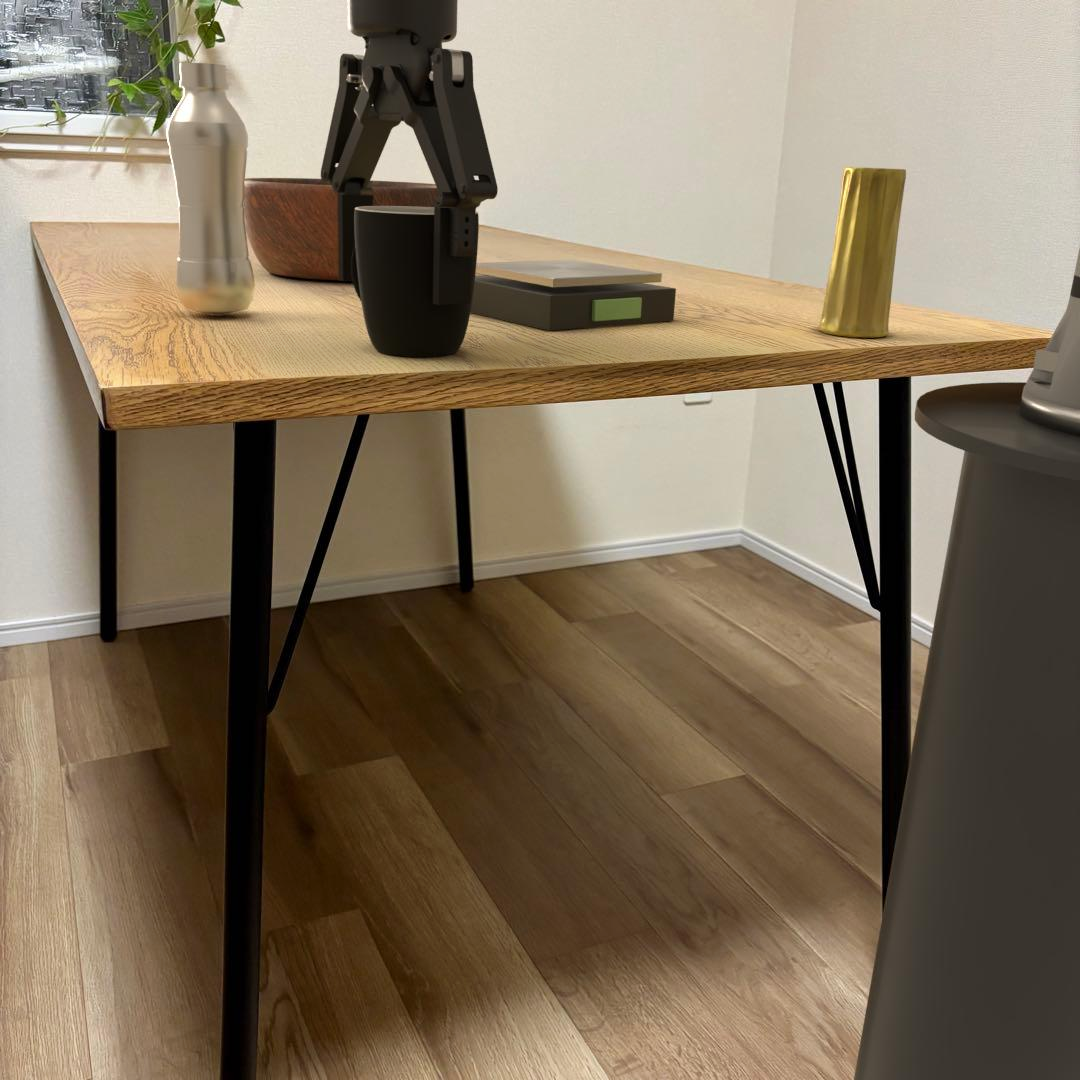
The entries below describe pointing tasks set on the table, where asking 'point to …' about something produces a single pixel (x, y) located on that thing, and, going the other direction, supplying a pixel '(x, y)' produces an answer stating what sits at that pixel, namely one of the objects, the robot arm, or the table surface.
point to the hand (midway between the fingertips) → (400, 291)
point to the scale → (571, 304)
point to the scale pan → (566, 273)
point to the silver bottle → (210, 194)
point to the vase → (864, 253)
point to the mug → (404, 282)
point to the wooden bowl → (310, 221)
